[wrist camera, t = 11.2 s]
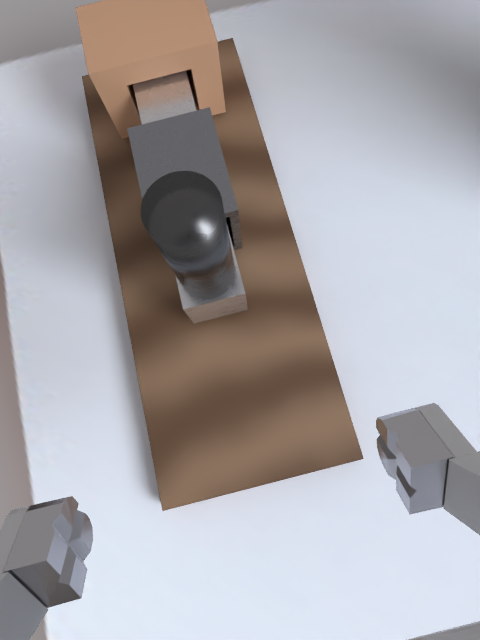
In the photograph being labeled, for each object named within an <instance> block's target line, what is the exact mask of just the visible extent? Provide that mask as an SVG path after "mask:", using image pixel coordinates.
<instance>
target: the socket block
mask: <svg viewBox="0 0 480 640" xmlns="http://www.w3.org/2000/svg"><path fill="white" fill-rule="evenodd" d="M76 11H77V17H78V22H79V27H80V32H81V38H82V43H83V48H84V54H85V59H86V64H87V69H88V74H89V76H90V78H91V80H92V82H93V84H94V86H95V88H96V90H97V92H98V94H99V96H100V97H101V99H102V101H103V103H104V105H105V107H106V109H107V111H108V113H109V115H110V117H111V119H112V121H113V123H114V125H115V127H116V129H117V130H118V132H119V134H120V136H121V138H122V139H123V138H127V137H129V135H128V130H127V128H130V127H134V126H138V125H142V123H141V119H140V114H139V110H138V105H137V101H136V97H135V92H134V88H133V84H135V83H139V82H143V81H146V80H150V79H154V78H158V77H162V76H166V75H170V74H174V73H178V72H182V71H186V73H187V77H188V80H189V84H190V88H191V92H192V95H193V99H194V103H195V107H196V110H201V109H204V108H208V107H210V110H211V113H212V115H216V114H220V113H224V112H226V109H225V100H224V92H223V84H222V76H221V68H220V59H219V51H218V43H217V38H216V35H215V32H214V28H213V25H212V22H211V18H210V15H209V12H208V8H207V5H206V2H205V0H103V1H100V2H95V3H92V4H88V5H84V6H80V7H76Z"/></svg>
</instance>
